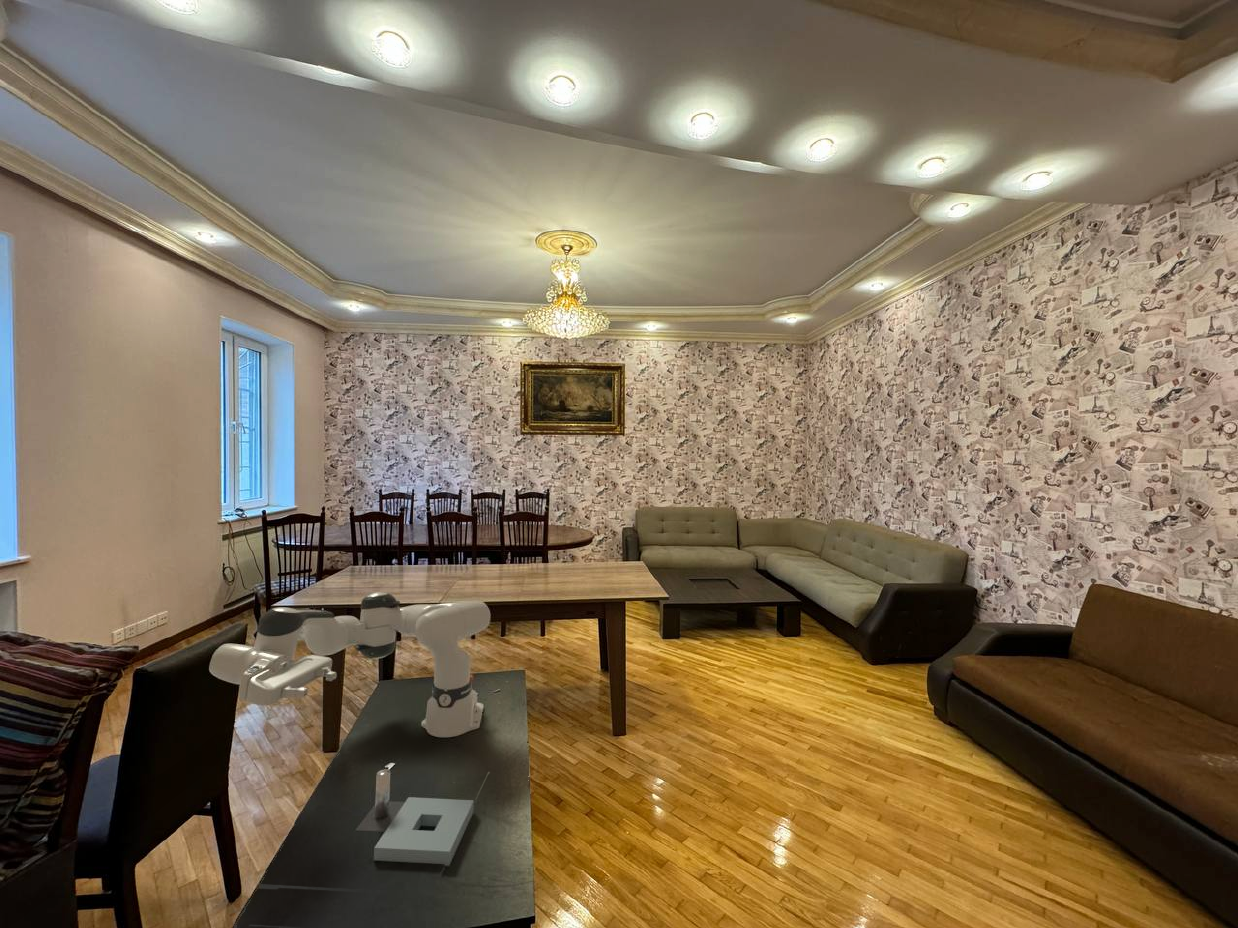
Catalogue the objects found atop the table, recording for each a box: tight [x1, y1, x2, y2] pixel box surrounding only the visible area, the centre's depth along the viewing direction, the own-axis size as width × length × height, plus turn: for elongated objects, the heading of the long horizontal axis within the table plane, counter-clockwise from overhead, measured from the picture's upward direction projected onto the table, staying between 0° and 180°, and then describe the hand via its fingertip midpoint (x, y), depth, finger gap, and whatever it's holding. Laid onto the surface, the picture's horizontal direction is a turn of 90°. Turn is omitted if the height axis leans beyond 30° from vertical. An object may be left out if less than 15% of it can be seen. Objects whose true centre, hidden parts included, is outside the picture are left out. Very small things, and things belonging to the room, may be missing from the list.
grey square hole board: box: [373, 796, 475, 867], centre depth 111 cm, size 16×16×3 cm
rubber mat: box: [355, 800, 406, 833], centre depth 116 cm, size 10×7×1 cm
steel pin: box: [374, 768, 391, 820], centre depth 116 cm, size 3×3×10 cm
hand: (320, 685), depth 120 cm, fingers open, 8 cm apart
